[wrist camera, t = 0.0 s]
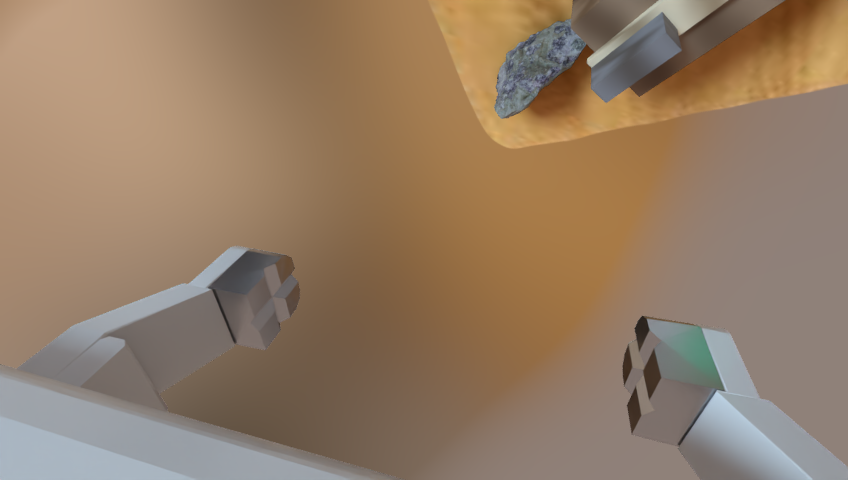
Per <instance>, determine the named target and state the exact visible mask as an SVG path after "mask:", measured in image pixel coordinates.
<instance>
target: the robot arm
mask: <svg viewBox="0 0 848 480" xmlns="http://www.w3.org/2000/svg"><path fill="white" fill-rule="evenodd" d="M294 269H295V267H294V264H293V260H292V258H291V257H289V256H287V255H283V254H278V253H273V252H268V251H263V250H257V249H250V248H245V247H241V246H234V247H230V248H229V249H228V250H227V251H225V252H224V253H223V254H222V255H221V256H220V257H219V258H217V259H216V260H215V261H214V262H213V263H212V264H211V265H210V266H209V267H207V268H206V269H205V270H204V271H203V272H202V273H200V274H199V275H198V276H197V277H196V278H195V279H194V280H192V281H191V282H190V283H189V284H180V285H177V286H175V287H172V288H170V289H167V290H165V291H162V292H159V293H157V294H154V295H151V296H149V297H146V298H143V299H141V300H139V301H136V302H133V303H131V304H128V305H125V306H123V307H120V308H118V309H115V310H112V311H110V312H107V313H105V314H102V315H99V316H97V317H94V318H92V319H89V320H86V321H84V322H81V323H78V324H76V325H73V326H72V327H71V328H69V329H68V330H67V331H65V332H64V333H63V334H61V335H60V336H59V337H57V338H56V339H55V340H53V341H52V342H51V343H50V344H48V345H47V346H46V347H44V348H43V349H42V350H40V351H39V352H38V353H36V354H35V355H34V356H33V357H31V358H30V359H29V360H27V361H26V362H25V363H23V364H22V365H21V366H19V367H18V368H17V369H15V368H12V367H8V366H5V365H1V364H0V480H404V479H401V478H397V477H394V476H390V475H386V474H383V473H380V472H376V471H373V470H369V469H366V468H362V467H359V466H355V465H352V464H348V463H344V462H341V461H338V460H334V459H331V458H327V457H323V456H320V455H316V454H313V453H309V452H306V451H302V450H299V449H295V448H292V447H288V446H285V445H281V444H278V443H274V442H271V441H267V440H264V439H260V438H257V437H253V436H250V435H246V434H243V433H239V432H236V431H232V430H229V429H225V428H222V427H218V426H215V425H211V424H208V423H204V422H201V421H197V420H194V419H190V418H187V417H183V416H180V415H176V414H173V413H169V412H168V410H167V409H168V407H167V405H166V404H165V402H164V401H163V399H162V398H161V396H160V393H161V392H163V391H164V390H166V389H168V388H169V387H171V386H172V385H174V384H176V383H177V382H178V381H180V380H182V379H184V378H185V377H187V376H188V375H190V374H191V373H193V372H194V371H196V370H198V369H199V368H201V367H203V366H204V365H205V364H207V363H209V362H210V361H212V360H213V359H215V358H217V357H218V356H220V355H222V354H223V353H224V352H226V351H228V350H229V349H231V348H233V347H234V346H235V344H237V345H242V346H247V347H252V348H258V349H262V350H266V349H267V348H268V346H269V345H270V344H271V342H272V341H273V340H274V338H275V337H276V336H277V334H278V333H279V332H280V330H281V329H280V322H282V321H284V320H286V319H288V318H290V317H291V315H292V314H293V313H294V311H295V310H296V308H297V305H298V302H299V299H300V288H299V283H298V281H297V280H296V279H295V278H294V277H293V276H292V275H291V274H292V272H293V271H294ZM635 333H636V340H634V341H632V342H630V343H629V344H628V346H627V349H626V352H625V354H624V361H623V381H624V387H625V388H626V389H627V390H628V392H629V393H630V394H631V398H630V400H629V402H628V404H627V408H628V415H629V421H630V427H631V433H632V435H635V436H639V437H643V438H647V439H651V440H654V441H659V442H662V443H666V444H670V445H674V446H678V447H679V448H678V449H679V451H680V452H681V454H682V455H683V456H684V458H685V459H686V460H687V462H688V463H689V465H690V466H691V467H692V469H693V470H694V471H695V473H696V474H697V476H698V477H699V478H700V480H848V467H847V466H846V465H844V463H842V462H841V461H840V460H838V458H837V457H835V456H834V455H833V454H832V453H831V452H829V451H828V450H827V449H826V448H825V447H824V446H822V445H821V444H820V443H819V442H818V441H817V440H815V439H814V438H813V437H812V436H810V435H809V434H808V433H807V432H806V431H805V430H804V429H802V428H801V427H800V426H799V425H798V424H796V423H795V422H794V421H793V420H792V419H791V418H789V417H788V416H787V415H786V414H785V413H783V412H782V411H781V410H780V409H779V408H778V407H776V406H775V405H774V404H773V403H772V402H771V401H768V400H763V399H760V397H759V395H758V392H757V390H756V388H755V386H754V384H753V382H752V380H751V377H750V375H749V373H748V371H747V369H746V367H745V364H744V362H743V360H742V358H741V356H740V354H739V352H738V349H737V347H736V345H735V343H734V341H733V339H732V337H731V334H730V333H729V332H728V331H727V330H726V329H725V328H718V327H711V326H705V325H698V324H696V325H694V324H690V323H684V322H677V321H672V320H665V319H659V318H653V317H647V316H642V317H641V318H640V319H639V320H638V322H637V324H636V327H635Z"/></svg>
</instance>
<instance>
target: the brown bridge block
mask: <svg viewBox="0 0 848 480" xmlns="http://www.w3.org/2000/svg"><path fill="white" fill-rule="evenodd" d="M657 1H658V0H573V6H572V18H571V29H572V30H573V31H574V32H575V33H576V34H577V35H578V36H579V37H580V38H581V39H582V40H583V41H584V42H585V43H586V44H587V45H588V46H589V47H590V48H591V49H592V50H593V51H594V52H596V51H597V50H598V49H600V48H601V47H602V46H603V45H605V44H606V43H607V42H608V41H609V40H611V39H612V38H613V37H614V36H616V35H617V34H618V33H619V32H620V31H622V30H623V29H624V28H625V27H627V26H628V25H629V24H630V23H631V22H633V21H634V20H635V19H636V18H638V17H639V16H640V15H641V14H642V13H644V12H645V11H646V10H647V9H649V8H650V7H651V6H652V5H653V4H655V3H656V2H657ZM783 1H785V0H728V1H727V2H725V3H724V4H723V5H721V6H720V7H718V8H717V9H716V10H714V11H713V12H712V13H710V14H709V15H707V16H706V17H705V18H703V19H702V20H700V21H699V22H698V23H696V24H695V25H694V26H692V27H691V28H689V29H688V30H687V31H685V32H684V33H683V34H681V35H680V36H679V40H680V44H681V49H682V51H680V52H679V53H677V54H676V55H674V56H673V57H672V58H670V59H669V60H667V61H666V62H664V63H663V64H661V65H660V66H659V67H657V68H656V69H654V70H653V71H651V72H650V73H648V74H647V75H646V76H644V77H643V78H641V79H640V80H638V81H637V82H636V83H634V84H633V85H631V86H630V88H631V89H632V90H633V91H634V92H635V93H636V94H637V95H638V96H639V97H640V96H641V95H643V94H644V93H646V92H647V91H649V90H650V89H652V88H653V87H655V86H656V85H658V84H659V83H661V82H662V81H664V80H665V79H667V78H668V77H670V76H671V75H673V74H675V73H676V72H678V71H679V70H681V69H682V68H684V67H685V66H687V65H688V64H690V63H691V62H693V61H694V60H696V59H697V58H699V57H700V56H702V55H703V54H705V53H706V52H708V51H709V50H711V49H712V48H714V47H715V46H717V45H718V44H720V43H721V42H723V41H724V40H726V39H727V38H729V37H730V36H732V35H733V34H735V33H736V32H738V31H739V30H741V29H743V28H744V27H746V26H747V25H749V24H750V23H752V22H753V21H755V20H756V19H758V18H759V17H761V16H762V15H764V14H765V13H767V12H768V11H770V10H771V9H773V8H774V7H776V6H777V5H779V4H780V3H782V2H783Z"/></svg>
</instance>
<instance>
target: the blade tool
mask: <svg viewBox="0 0 848 480" xmlns="http://www.w3.org/2000/svg"><path fill="white" fill-rule="evenodd" d="M727 1H728V0H658V1H657V2H656V3H655V4H653V5H652V6H651V7H650V8H649V9H647V10H646V11H645V12H644V13H642V14H641V15H640V16H639V17H638V18H636V19H635V20H634V21H633V22H631V23H630V24H629V25H628V26H627V27H625V28H624V29H623V30H622V31H620V32H619V33H618V34H617V35H616V36H614V37H613V38H612V39H611V40H609V41H608V42H607V43H606V44H605V45H603V46H602V47H601V48H600V49H598V50H597V51H596V52H595V53H594V54H592V55H591V56H590V57H589V58H587V64H588V65H589V66H590V67H591V89H592V90H593V91H594V92H595V93H596V94H597V95H598V96H599V97H600V98H601V99H602V100H603V101H604V102H606V103H607V102H608V101H610V100H611V99H613V98H614V97H615V96H617V95H618V94H620V93H621V92H623V91H624V90H625V89H627V88H628V87H630V86H631V85H633V84H634V83H636V82H637V81H638V80H640V79H641V78H643V77H644V76H646V75H647V74H648V73H650V72H651V71H653V70H654V69H656V68H657V67H659V66H660V65H661V64H663V63H664V62H666V61H667V60H669V59H670V58H672V57H673V56H674V55H676V54H677V53H679V52H680V51H682V49H681V44H680V40H679V36H680V35H681V34H683V33H684V32H685V31H687V30H688V29H689V28H691V27H692V26H694V25H695V24H696V23H698V22H699V21H700V20H702V19H703V18H705V17H706V16H707V15H709V14H710V13H712V12H713V11H714V10H716V9H717V8H718V7H720V6H721V5H723V4H724V3H725V2H727Z"/></svg>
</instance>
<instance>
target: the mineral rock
mask: <svg viewBox="0 0 848 480" xmlns="http://www.w3.org/2000/svg"><path fill="white" fill-rule="evenodd" d="M585 46H586V43H585V42H584V41H583V40H582V39H581V38H580V37H579V36H578V35H577V34H576V33H575V32H574V31H573V30H572V29H571V19H568V20H566V21H565V22H561V21H558V22H556V23H554V24H552V25H551V26H550V27H549V28H547V29H544V30H542V31H540V32H537V34H533V35H531V36H530V37H529V39H528V40H526V41H525V42H520V43H519V44H518V45H517V47H516V48H515V49H513V50H511V51H509V52H508V53H507V54H506V61H505V62H504V63H503V65H502V66H501V68H500V71H499V74H498V77H497V79H498V81H497V85H496V89H497V92H498V96H497V99H496V104H495V107H494V108H495V111H496V112H497V114H498V115H499V117H500V118H501V119H502V118H509V117H510V116H514V115H515V114H518V113H520V112H521V111H523V110H524V109H526V108H527V107H528V106H529V105H530V103H531V102H532V101H533V100H534V98H535V97H536V96H537V95H538V93H539V91H541V90H542V89H543V88H544V87H545V86H547V85H549V84H550V83H551V82H552V81H553V80H554V79H555V78H557V76H558V75H560V74H561V73H562V72H563V71H565V70H567V69H569V68H571V66H572V65H573V63H574V62H575V60H577V58H578V56H579V55H580V53H581V51H582V50H583V48H584V47H585Z"/></svg>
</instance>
